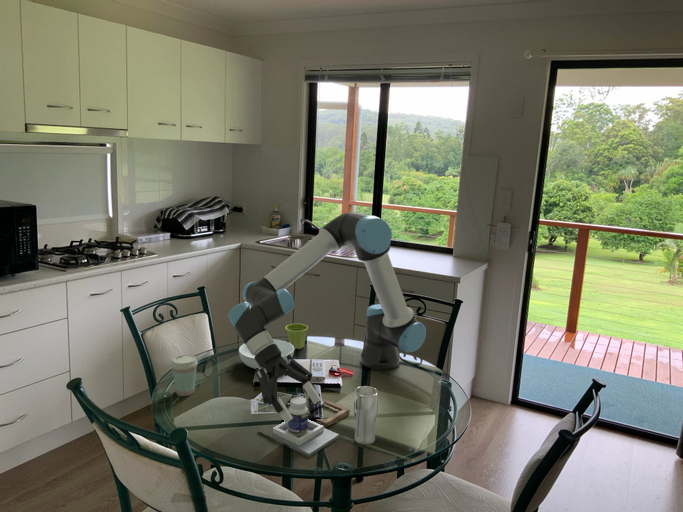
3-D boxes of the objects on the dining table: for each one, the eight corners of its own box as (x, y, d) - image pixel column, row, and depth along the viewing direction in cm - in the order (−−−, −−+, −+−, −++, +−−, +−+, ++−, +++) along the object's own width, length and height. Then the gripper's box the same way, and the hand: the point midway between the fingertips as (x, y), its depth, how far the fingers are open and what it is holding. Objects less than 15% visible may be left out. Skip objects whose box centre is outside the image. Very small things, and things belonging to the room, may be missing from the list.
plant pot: (280, 347, 224) (280, 327, 222) (295, 341, 231) (295, 321, 229) (297, 353, 218) (297, 332, 216) (312, 346, 226) (312, 326, 224)
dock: (288, 415, 169) (288, 407, 168) (338, 437, 157) (339, 429, 156) (258, 431, 159) (258, 424, 158) (309, 457, 147) (309, 448, 146)
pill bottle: (304, 438, 154) (305, 406, 152) (285, 435, 155) (285, 403, 153) (309, 427, 160) (310, 396, 158) (291, 425, 161) (291, 394, 159)
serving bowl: (304, 362, 210) (305, 345, 208) (271, 381, 192) (271, 363, 191) (262, 350, 220) (262, 334, 219) (227, 368, 202) (226, 350, 201)
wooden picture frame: (321, 402, 178) (321, 398, 177) (349, 413, 171) (349, 409, 170) (297, 415, 169) (297, 411, 168) (326, 427, 162) (326, 423, 162)
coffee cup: (190, 384, 188) (189, 352, 186) (203, 392, 182) (202, 359, 180) (167, 391, 182) (165, 358, 180) (179, 400, 176) (178, 366, 174)
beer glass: (351, 432, 160) (353, 385, 156) (374, 432, 160) (376, 385, 157) (353, 445, 153) (355, 397, 150) (378, 445, 153) (380, 396, 150)
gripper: (283, 343, 172) (321, 400, 167) (227, 370, 151) (268, 435, 147) (297, 331, 168) (336, 389, 163) (241, 356, 148) (284, 423, 143)
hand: (304, 411), depth 155 cm, fingers open, 13 cm apart
